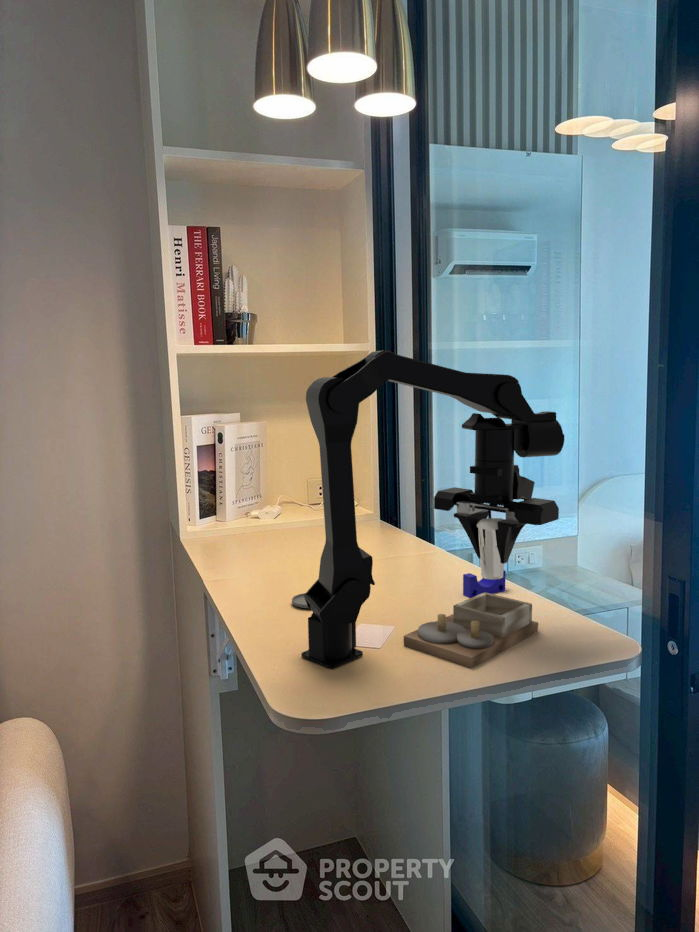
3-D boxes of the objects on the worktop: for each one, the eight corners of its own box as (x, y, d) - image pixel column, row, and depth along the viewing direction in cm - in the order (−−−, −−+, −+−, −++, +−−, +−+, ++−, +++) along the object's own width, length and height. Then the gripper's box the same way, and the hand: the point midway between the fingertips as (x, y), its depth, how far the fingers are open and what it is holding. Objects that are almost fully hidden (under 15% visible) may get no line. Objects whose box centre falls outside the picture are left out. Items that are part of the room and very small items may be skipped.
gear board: (471, 668, 97) (471, 636, 96) (403, 645, 105) (403, 616, 105) (537, 631, 110) (538, 603, 109) (473, 613, 118) (473, 587, 117)
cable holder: (493, 586, 133) (493, 566, 132) (505, 591, 130) (505, 570, 129) (458, 593, 129) (458, 572, 129) (469, 598, 126) (469, 577, 126)
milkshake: (505, 571, 111) (504, 508, 110) (509, 581, 106) (508, 514, 104) (475, 571, 111) (474, 509, 110) (478, 581, 106) (477, 515, 105)
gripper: (578, 458, 105) (574, 561, 107) (472, 449, 118) (471, 541, 120) (540, 466, 97) (537, 577, 99) (431, 456, 110) (431, 553, 112)
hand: (492, 560), depth 108 cm, fingers closed on milkshake, 4 cm apart
